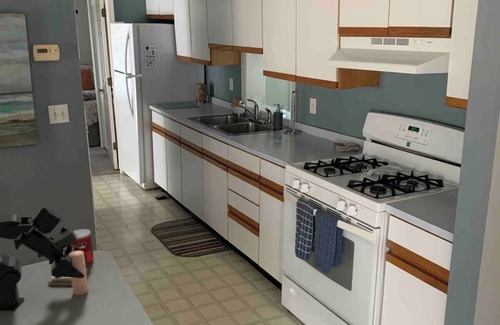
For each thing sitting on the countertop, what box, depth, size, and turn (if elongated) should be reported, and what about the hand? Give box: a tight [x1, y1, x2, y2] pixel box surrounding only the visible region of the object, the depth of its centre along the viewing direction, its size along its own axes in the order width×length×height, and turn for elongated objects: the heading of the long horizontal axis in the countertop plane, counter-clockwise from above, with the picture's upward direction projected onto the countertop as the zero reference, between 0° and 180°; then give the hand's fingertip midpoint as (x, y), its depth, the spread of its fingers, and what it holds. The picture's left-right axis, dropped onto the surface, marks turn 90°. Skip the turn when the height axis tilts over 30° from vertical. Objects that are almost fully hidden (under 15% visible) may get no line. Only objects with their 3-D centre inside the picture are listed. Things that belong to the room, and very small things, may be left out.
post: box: [68, 251, 89, 296], centre depth 162 cm, size 5×5×13 cm
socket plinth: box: [47, 267, 89, 286], centre depth 172 cm, size 10×10×2 cm
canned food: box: [71, 228, 95, 266], centre depth 183 cm, size 8×8×11 cm
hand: (82, 270), depth 162 cm, fingers open, 9 cm apart
